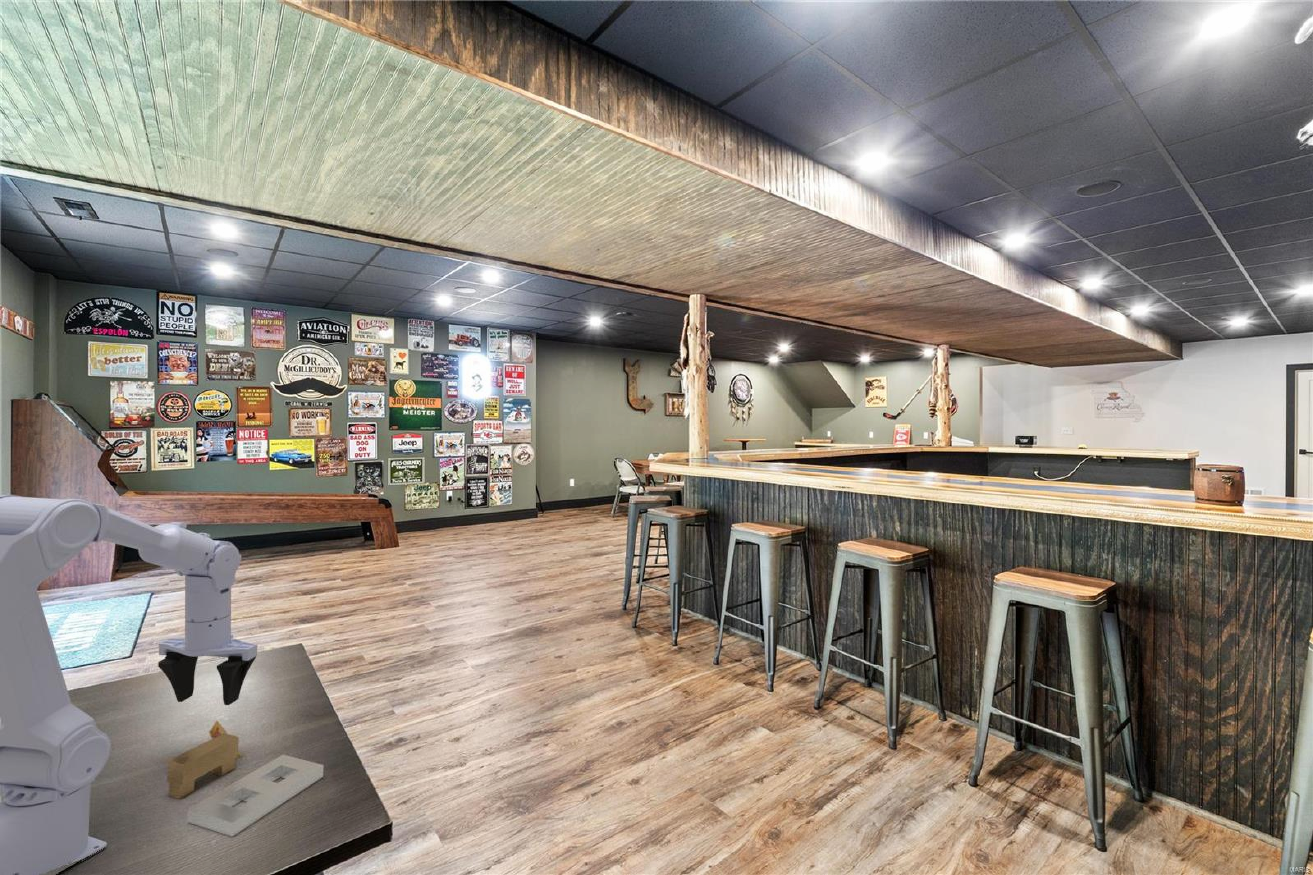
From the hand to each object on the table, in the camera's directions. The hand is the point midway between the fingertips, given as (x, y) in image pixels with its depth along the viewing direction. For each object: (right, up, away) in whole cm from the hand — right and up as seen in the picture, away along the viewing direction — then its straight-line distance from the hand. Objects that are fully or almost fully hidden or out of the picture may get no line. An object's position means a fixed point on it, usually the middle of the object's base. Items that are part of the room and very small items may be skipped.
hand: (208, 700), depth 91 cm
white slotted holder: (+14, -10, -9) cm, 19 cm away
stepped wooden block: (+4, -10, -6) cm, 12 cm away
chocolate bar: (-1, -10, +5) cm, 11 cm away
